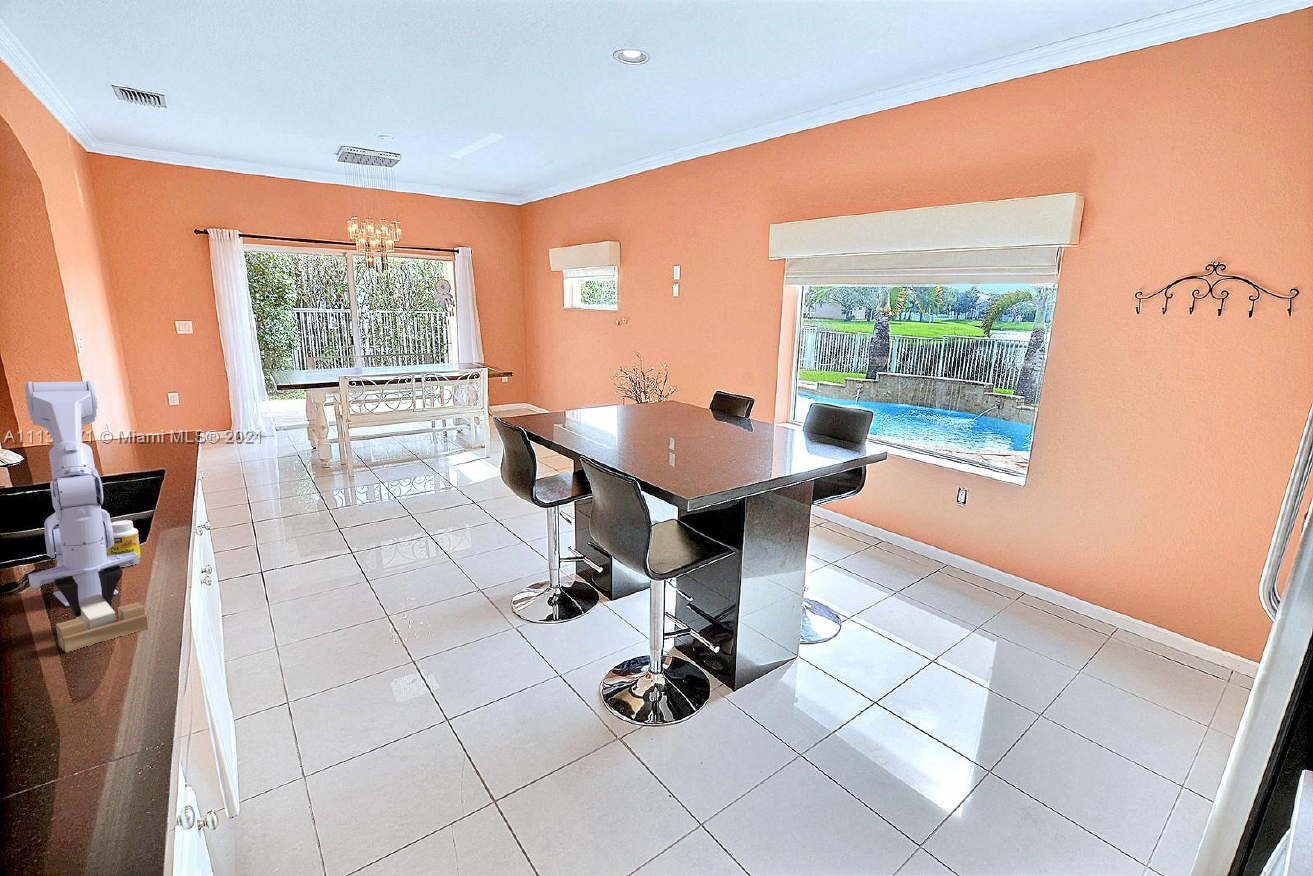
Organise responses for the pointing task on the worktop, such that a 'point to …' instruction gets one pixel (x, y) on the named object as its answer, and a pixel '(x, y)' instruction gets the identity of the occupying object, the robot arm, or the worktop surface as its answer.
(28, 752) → the worktop surface
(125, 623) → the tan bridge
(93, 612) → the white block
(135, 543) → the supplement bottle
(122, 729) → the worktop surface
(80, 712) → the worktop surface
